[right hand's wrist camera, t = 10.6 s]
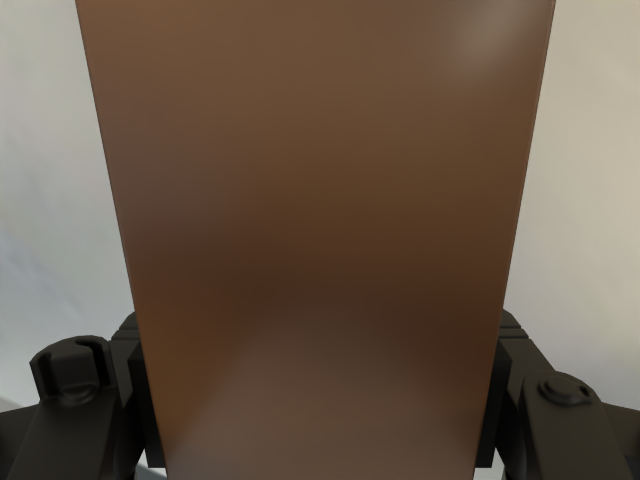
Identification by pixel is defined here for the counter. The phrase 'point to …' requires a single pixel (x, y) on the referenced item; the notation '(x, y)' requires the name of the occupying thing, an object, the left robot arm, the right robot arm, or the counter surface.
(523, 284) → the counter surface
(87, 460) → the right robot arm
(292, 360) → the walnut box
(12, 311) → the counter surface
